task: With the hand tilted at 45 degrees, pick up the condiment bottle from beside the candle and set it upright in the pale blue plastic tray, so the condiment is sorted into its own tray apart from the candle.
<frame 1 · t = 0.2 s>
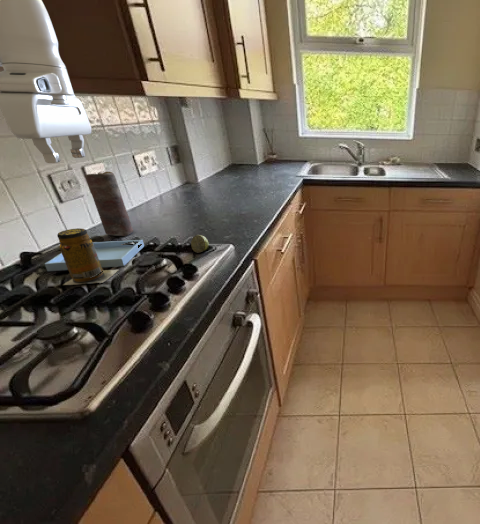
hand: (67, 160, 68), 28 cm above the worktop, tool pointing down, fingers open, 8 cm apart
lime: (201, 251, 97), on the worktop
condiment: (92, 278, 81), on the worktop
candle: (120, 234, 109), on the worktop
blue tray: (100, 257, 92), on the worktop
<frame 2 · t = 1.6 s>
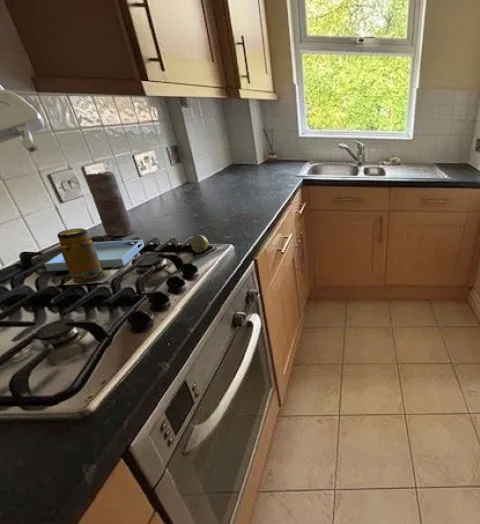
hand: (5, 159, 62), 29 cm above the worktop, tool tilted 50°, fingers open, 8 cm apart
nothing on the worktop moved.
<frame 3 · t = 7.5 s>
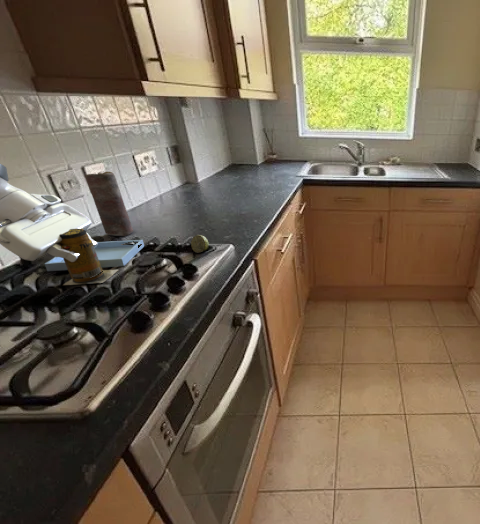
hand: (86, 252, 79), 7 cm above the worktop, tool tilted 45°, fingers closed on condiment, 6 cm apart
condiment: (92, 278, 81), on the worktop, touching gripper
everything else where it was.
when the fingers open (7 cm above the worktop, at t = 15.6 s): condiment stays where it is, resting on blue tray.
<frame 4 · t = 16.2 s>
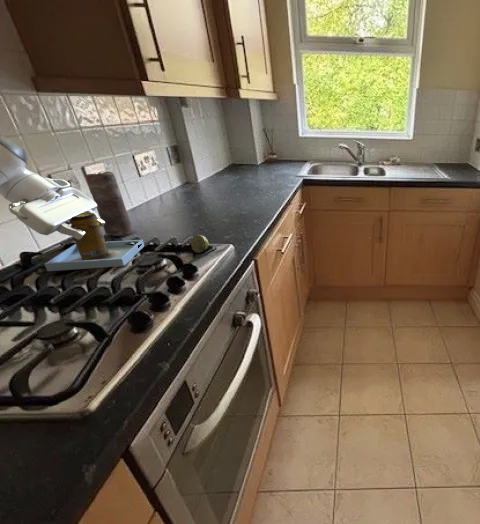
hand: (93, 230, 89), 8 cm above the worktop, tool tilted 45°, fingers open, 8 cm apart
condiment: (99, 257, 91), resting on blue tray
everything else where it was.
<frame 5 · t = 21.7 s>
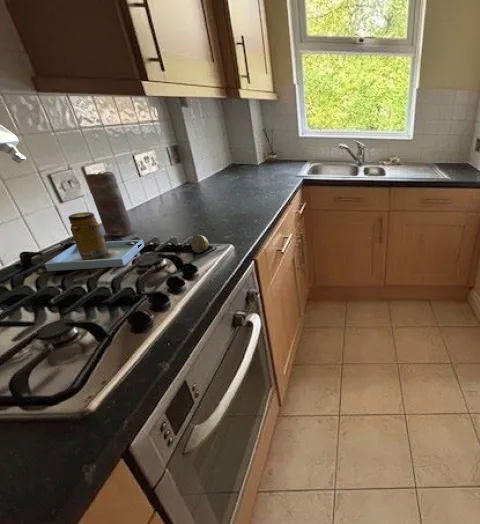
hand: (8, 163, 79), 25 cm above the worktop, tool tilted 45°, fingers open, 8 cm apart
nothing on the worktop moved.
at the end: condiment inside the target area in the blue tray (0.4 cm from its centre), point 0.3 cm above the blue tray's base; condiment tilted 0°; candle moved 0.2 cm from its start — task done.
